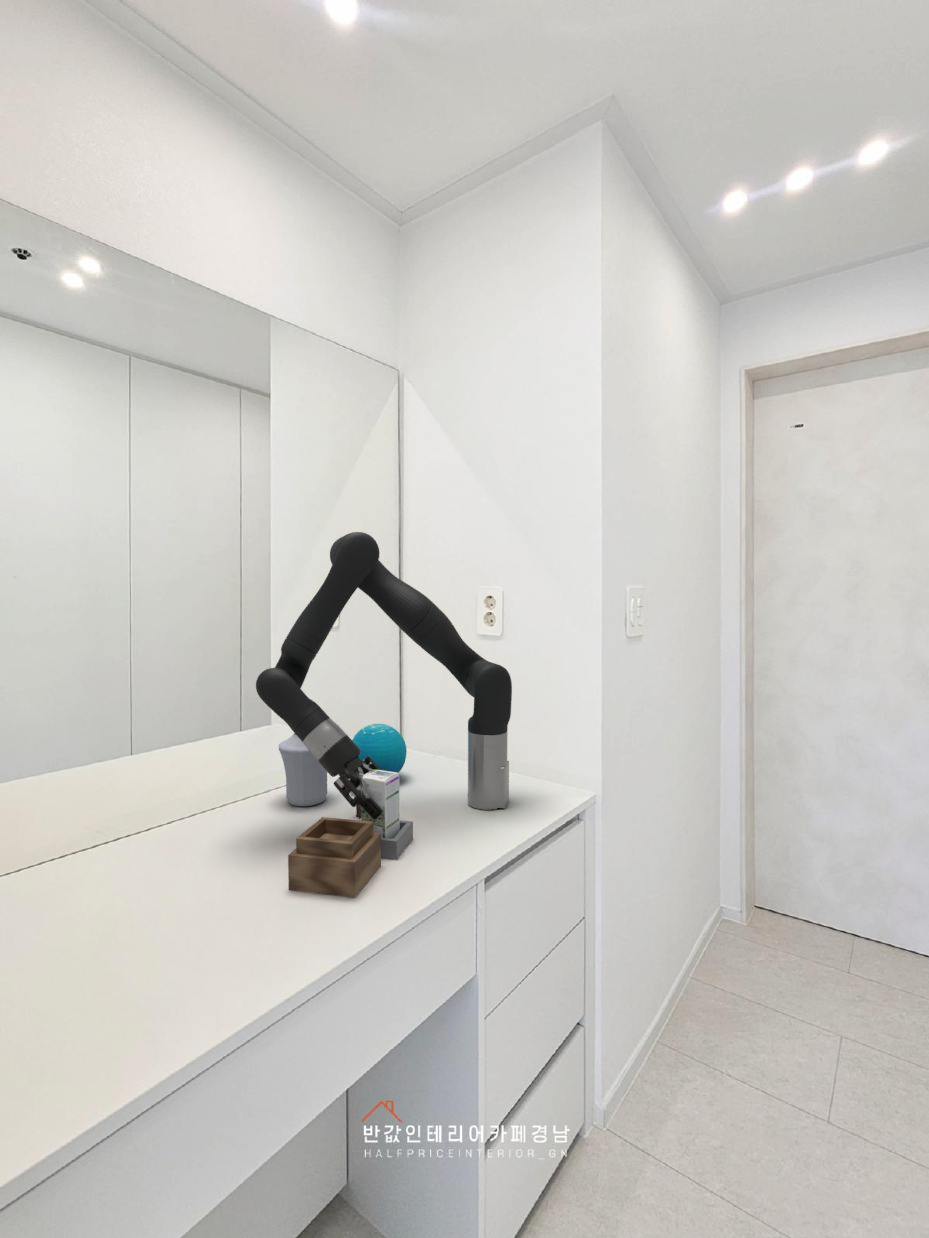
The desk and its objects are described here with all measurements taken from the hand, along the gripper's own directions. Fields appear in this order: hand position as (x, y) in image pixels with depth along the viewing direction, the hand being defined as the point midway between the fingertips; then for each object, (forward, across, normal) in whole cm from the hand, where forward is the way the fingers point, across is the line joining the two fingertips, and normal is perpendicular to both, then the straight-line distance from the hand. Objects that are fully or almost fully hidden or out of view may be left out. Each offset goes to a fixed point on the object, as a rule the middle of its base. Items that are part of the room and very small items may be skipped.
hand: (386, 808), depth 122 cm
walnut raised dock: (+2, -14, +8) cm, 17 cm away
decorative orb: (-6, +38, +17) cm, 42 cm away
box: (-1, +16, +12) cm, 20 cm away
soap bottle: (-14, +20, +25) cm, 35 cm away
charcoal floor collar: (+4, 0, +6) cm, 8 cm away
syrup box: (+5, 0, +6) cm, 8 cm away
